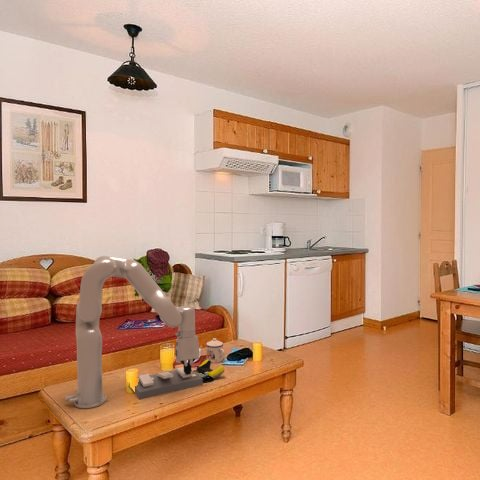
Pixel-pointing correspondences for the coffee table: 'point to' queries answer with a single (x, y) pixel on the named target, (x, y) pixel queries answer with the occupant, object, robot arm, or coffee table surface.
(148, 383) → the rocker left
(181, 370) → the rocker right
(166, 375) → the rocker middle
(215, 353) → the teacup with lid
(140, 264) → the robot arm
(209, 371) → the yellow black spring clamp
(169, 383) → the switch panel
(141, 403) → the coffee table surface
